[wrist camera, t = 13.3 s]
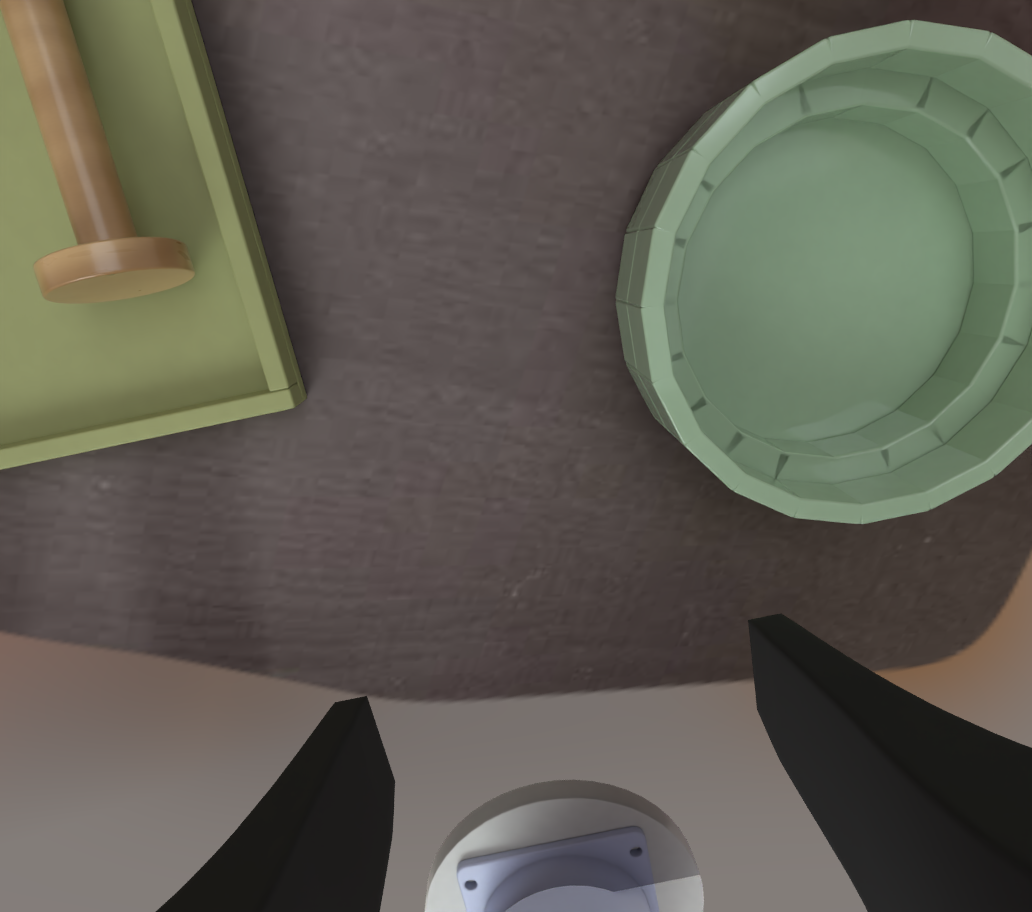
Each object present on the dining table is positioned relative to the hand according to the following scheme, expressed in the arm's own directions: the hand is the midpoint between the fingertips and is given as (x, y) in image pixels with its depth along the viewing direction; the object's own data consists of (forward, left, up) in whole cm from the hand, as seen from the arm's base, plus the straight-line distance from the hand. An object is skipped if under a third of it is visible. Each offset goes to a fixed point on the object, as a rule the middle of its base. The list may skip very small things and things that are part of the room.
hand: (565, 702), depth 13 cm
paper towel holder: (+9, +9, -8) cm, 15 cm away
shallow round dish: (+5, -10, -10) cm, 15 cm away
